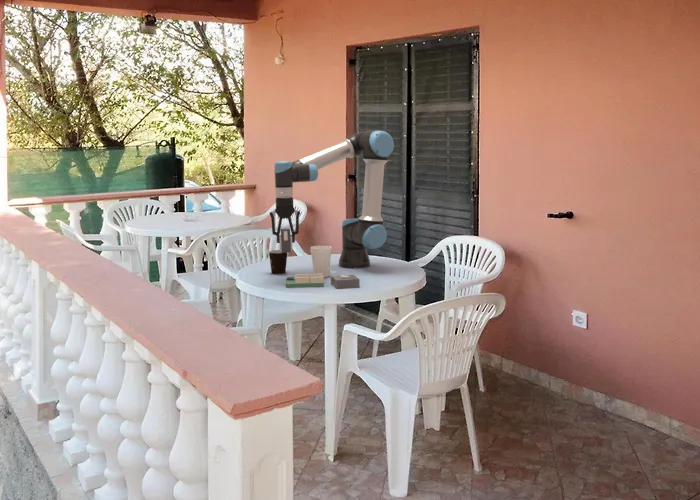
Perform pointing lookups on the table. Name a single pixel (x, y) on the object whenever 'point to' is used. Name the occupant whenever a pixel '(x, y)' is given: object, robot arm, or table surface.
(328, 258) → the foam cup
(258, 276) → the table surface
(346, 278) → the dark grey box
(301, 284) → the board
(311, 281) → the socket
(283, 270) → the coffee mug
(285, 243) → the plug
